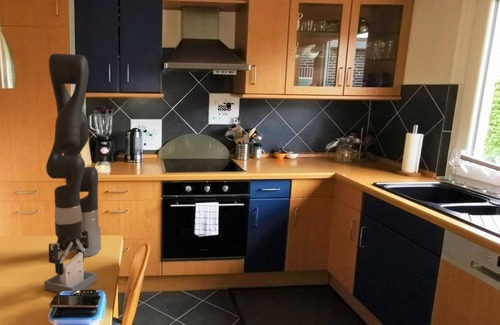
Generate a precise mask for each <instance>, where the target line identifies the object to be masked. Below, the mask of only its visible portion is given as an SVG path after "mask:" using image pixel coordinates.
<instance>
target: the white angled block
mask: <svg viewBox="0 0 500 325" xmlns="http://www.w3.org/2000/svg"><path fill="white" fill-rule="evenodd" d="M63 267H64V274H63V275H61V276H60V280H61V285H65V286H69V287H73V286H75V285H76V284H78V283H79V282H81V281H83V280H84V271H85V270H84V262H83V253H82V252H79V253H78V254H77V255H76V256H75V255H74V256H73V257H72V259H70V260H68V261H67V263H65V264H63Z"/></svg>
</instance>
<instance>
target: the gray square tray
mask: <svg viewBox="0 0 500 325" xmlns="http://www.w3.org/2000/svg"><path fill="white" fill-rule="evenodd" d="M62 275H63V274H62ZM60 276H61V275H59V274H57V273H56V274H55V275H53V276H52V277H49V278H48V279H46V280H45V281H43V288H44V291H45V292H48V293H52V294H55V295H60V294H59V293H60V292H62V291H75V290H83V291H85V290H87V289H88V288H90V287H91V286H93V285H94V284H96V283H97V280H98V279H97V273H95V272H90V271H86V270H84V280H83V281H81V282H79V283H78V284H76V285H75V286H73V287H69V286H65V285H61V280H60Z"/></svg>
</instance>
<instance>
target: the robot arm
mask: <svg viewBox="0 0 500 325" xmlns="http://www.w3.org/2000/svg"><path fill="white" fill-rule="evenodd" d="M48 70H49V76H50V81H51V82H50V83H51V86H52V90H53V95H54V100H55V105H56V111H57V113H56V114H57V117H56V121H55V125H54V126H55V127H54V129H55V130H54V140H53V144H52V147H51V150H50V154H49V156H48V158H47V161H46V165H45V171H46V174H47V175H48V177H49V178H52V179H54V180H55V179H56V180H57V179H59V180H60V179H65V184H63V185H59V186H57V187H56V188H55V189H54V226H55V227H54V228H55V229H54V232H55V236H56V237H57V242H55V243H52V242H51V243H49V244H48V263H49V264H54V268H55V273H56V275H57V274H59V275H62V274H64V267H63V266H64V260H65V258H66V257H67V256H68V254H69V253H70V252H72V251H73V252H72V253H73V255H74V256H76V255H77V254H78V253H79V252H82V253H83V263H84V261H85V258H86V257H92V256H95V255H97V254H98V253H99V252H100V250H102V243H101V242H102V240H101V239H102V238H101V226H100V225H99V199H98V198H99V197H98V196H99V194H98V193H99V191H98V190H99V189H98V188H99V185H98V184H99V173H98V170H97V168H96V167H93V166H87V167H86V163H85V160H84V158H83V157H82V156H80V154H81V152H82V150H83V149H84V148H85V147H86V144H87V143H88V141H89V140H90V139H89V138H90V129H89V128H90V127H89V120H88V117H87V116H86V114H85V113H84V111H83V109H84V104H85V99H86V93H87V88H88V82H89V72H90V71H89V63H88V59H87V58H86V56H85V55H82V54H69V53H52V54H51V55H50V56H49V58H48ZM66 85H74V90H73V93H72V95H70V93H69V91H68V89H67V87H66ZM81 193H87V195H85V196H84V197H81Z"/></svg>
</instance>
